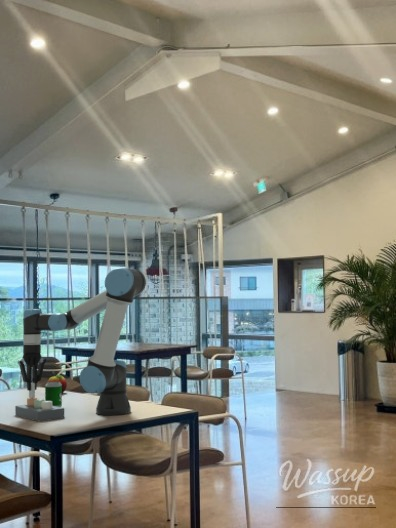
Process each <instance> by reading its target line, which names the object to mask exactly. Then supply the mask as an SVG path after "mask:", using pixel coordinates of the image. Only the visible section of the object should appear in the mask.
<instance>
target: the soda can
mask: <svg viewBox="0 0 396 528" xmlns="http://www.w3.org/2000/svg"><path fill="white" fill-rule="evenodd" d="M47 382H48V381H47ZM44 390H45V392H44V400H45V401H52V406H56V407H61V408H62V405H63V403H62V402H63V399H62V397H63V393H62V384H61V383H60V382H48V383H46V384H45V385H44Z"/></svg>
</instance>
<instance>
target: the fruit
mask: <svg viewBox="0 0 396 528" xmlns="http://www.w3.org/2000/svg"><path fill="white" fill-rule="evenodd" d="M66 380H67V379H66V378H65V377H64V376H63V375H60V374H57V375H53V376H51V377H49V379H48V380H47V383H48V382H60V383H61V384H62V394H63V393H65V391H66V390H67V386H68V385H67V381H66ZM47 383H46V384H47Z"/></svg>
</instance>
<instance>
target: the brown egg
mask: <svg viewBox="0 0 396 528" xmlns="http://www.w3.org/2000/svg"><path fill="white" fill-rule="evenodd" d="M34 400H38V398H37V397H35V398H29V397H28V398H27V399H26V405H27V406H29V407H30V406H34Z"/></svg>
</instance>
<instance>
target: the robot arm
mask: <svg viewBox="0 0 396 528" xmlns="http://www.w3.org/2000/svg"><path fill="white" fill-rule="evenodd" d="M146 286H147V280H146V276H145V275H144V273H143V272H142V271H140V270H138V269H135V268H127V267H117V268H113V269H112V270H110V271H109V272H108V273H107V274H106V277H105V279H104V288H105V290H103V291H102V292H100V293H98V294H96V295H94V296H92V297H90V298H89V299H87V300H86V301H84V302H82V303H80V304H78V305H76V306H75V307H73V308H71V309H69V310H67V311H66V312H60V313H59V312H55V313H54V312H53V313H42V310H41V309H39V308H30V309H29V308H27V309H24V310H23V319H22V321H23V324H22V325H23V349H22V350H23V351H22V352H23V355H22V358H21V359H19V360H17V364H18V366H19V369H20V374H21V378H22V382H24V383H26V384H27V385H26V390H27V391H28V398H36V390H37V387H38V385H37V384H38V382H41V380H42V376H43V371H44V367H45V364H46V362H47V359H46V358H43V357H42V356H43V355H42V354H41V352H42V344H41V342H42V331H48V332H51V331H52V332H59V331H64V330H67V331H68V330H73V329H77V328H78V327H79V326H80V324H82V323H83V322H85V321H87V320H89V319H90V318H92V317H95V316H96V315H98V314H100V313H101V312H104V315H103V319H102V322H101V326H100V330H99V333H98V337H97V340H96V341H97V342H96V343H95V344H96V345H95V348H94V352H93V355H91V356H89V358H88V361H87V365H86V366H84V368H82V370H81V371H80V374H79V383H80V385H81V387H82V389H83V390H84V391H85V392H87V393H88V394H99V397H98V398H99V399H98V400H97V401H98V402H97V404H96V408H95V413H96V415H101V416H116V415H117V416H119V415H121V416H122V415H127V414H130V413H131V411H132V410H131V409H132V408H131V404H130V402H129V398H128V394H127V362H126V361H125V360H121V359H120V360H119V359H118V360H117V359H115V356H116V352H117V348H118V344H119V341H120V336H121V333H122V328H123V326H124V321H125V319H126V318H125V317H126V314H127V310H128V306H130V305H132V304H133V302H134V298H135V297H136V296H139V295H140V294H142V293H143V292H144V290H146ZM25 364H26V366H25Z"/></svg>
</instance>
